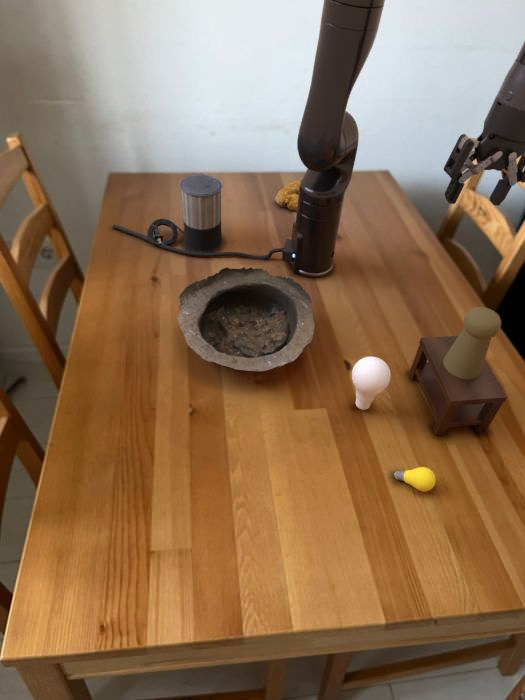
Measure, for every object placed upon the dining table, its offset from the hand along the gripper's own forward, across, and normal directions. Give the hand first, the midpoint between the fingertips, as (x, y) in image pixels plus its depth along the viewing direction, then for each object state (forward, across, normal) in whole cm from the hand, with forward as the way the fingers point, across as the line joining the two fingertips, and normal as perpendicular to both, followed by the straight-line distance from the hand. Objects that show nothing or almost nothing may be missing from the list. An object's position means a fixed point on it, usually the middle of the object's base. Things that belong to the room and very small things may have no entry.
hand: (471, 202), depth 84 cm
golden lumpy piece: (+31, +10, -50) cm, 59 cm away
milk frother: (+34, +40, -36) cm, 64 cm away
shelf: (+27, +2, +20) cm, 34 cm away
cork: (+18, +4, +20) cm, 27 cm away
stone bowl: (+32, +33, 0) cm, 46 cm away
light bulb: (+28, +15, +34) cm, 46 cm away
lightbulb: (+29, +17, +19) cm, 38 cm away
